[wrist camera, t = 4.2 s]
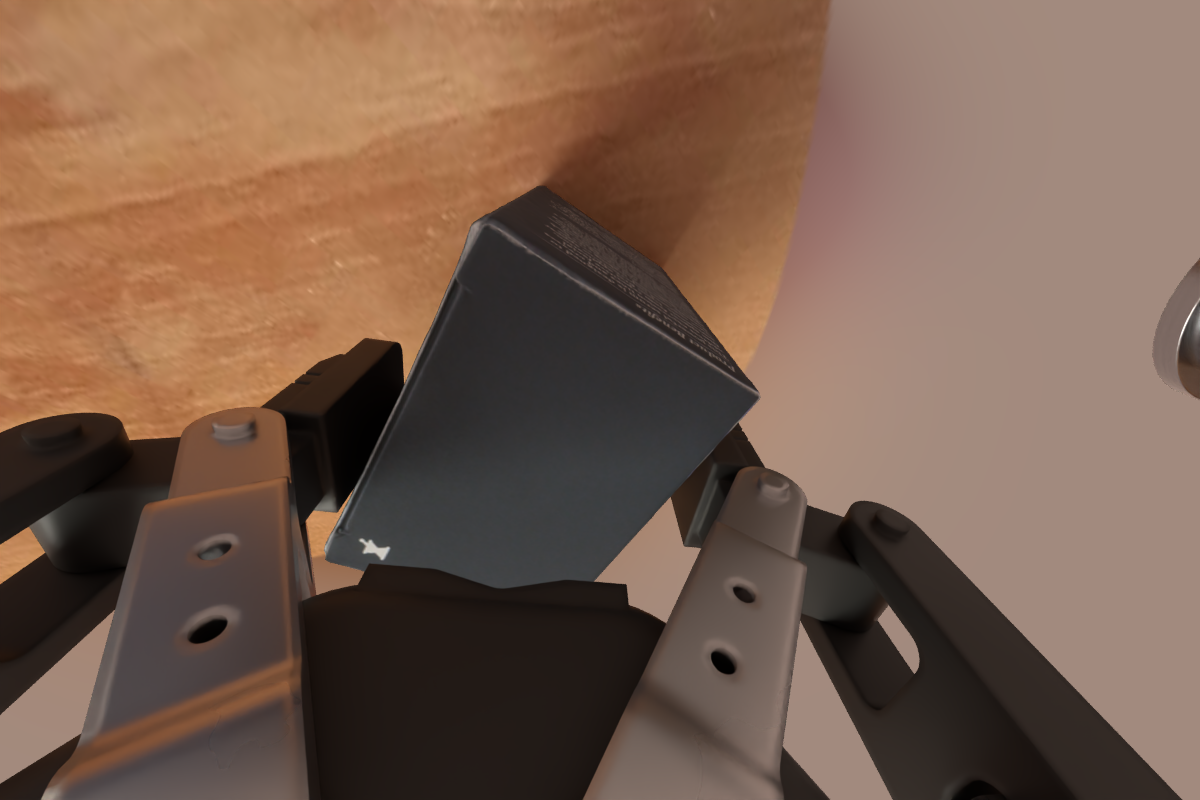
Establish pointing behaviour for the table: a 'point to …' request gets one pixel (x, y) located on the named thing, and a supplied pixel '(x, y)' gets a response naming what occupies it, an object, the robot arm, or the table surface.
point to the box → (542, 408)
